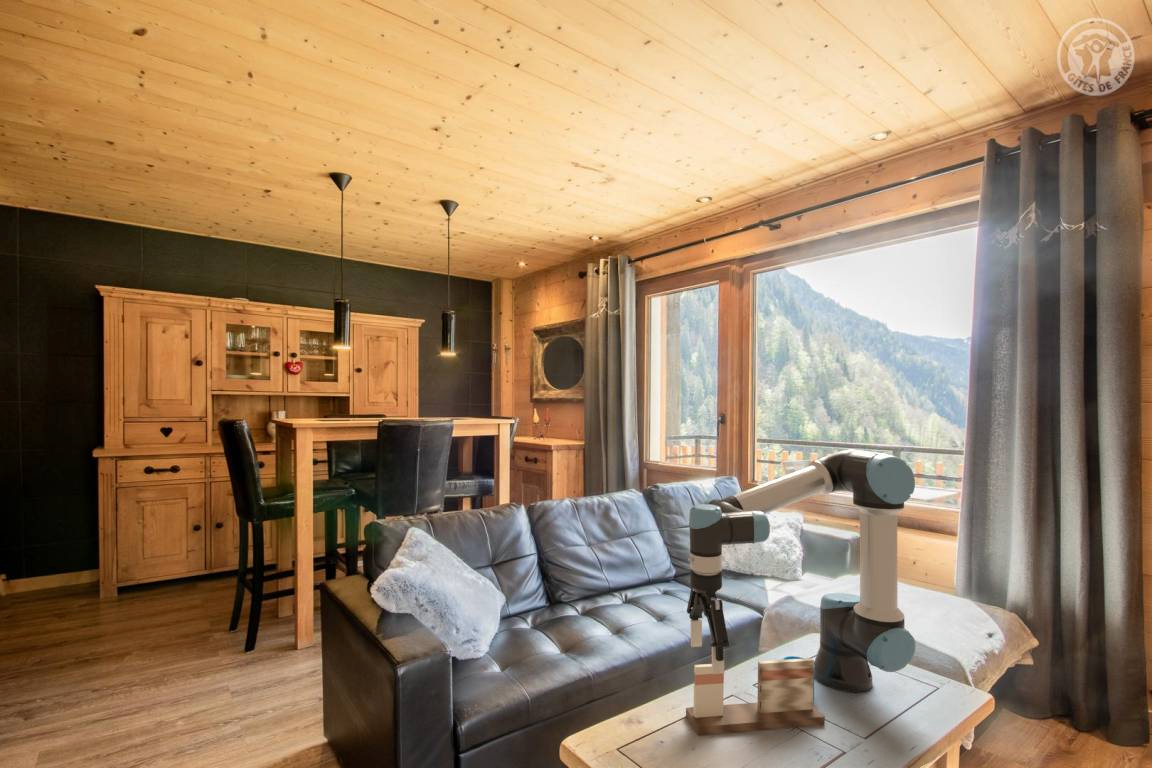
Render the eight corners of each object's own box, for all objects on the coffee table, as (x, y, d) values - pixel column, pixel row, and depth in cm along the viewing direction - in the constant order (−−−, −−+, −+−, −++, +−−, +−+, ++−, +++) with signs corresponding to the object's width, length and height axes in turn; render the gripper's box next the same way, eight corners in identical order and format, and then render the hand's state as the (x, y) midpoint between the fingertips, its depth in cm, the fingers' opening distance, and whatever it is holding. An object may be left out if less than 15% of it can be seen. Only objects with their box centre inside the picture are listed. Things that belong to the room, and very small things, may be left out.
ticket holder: (806, 706, 146) (807, 651, 146) (824, 725, 139) (825, 666, 139) (685, 715, 141) (686, 658, 141) (697, 735, 134) (698, 675, 134)
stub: (720, 712, 139) (721, 663, 139) (723, 715, 138) (723, 665, 138) (693, 714, 138) (694, 664, 138) (695, 718, 137) (696, 667, 137)
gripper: (673, 556, 150) (674, 637, 150) (711, 589, 125) (712, 687, 125) (701, 554, 151) (702, 635, 151) (743, 587, 126) (744, 684, 126)
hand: (706, 659), depth 138 cm, fingers open, 13 cm apart
